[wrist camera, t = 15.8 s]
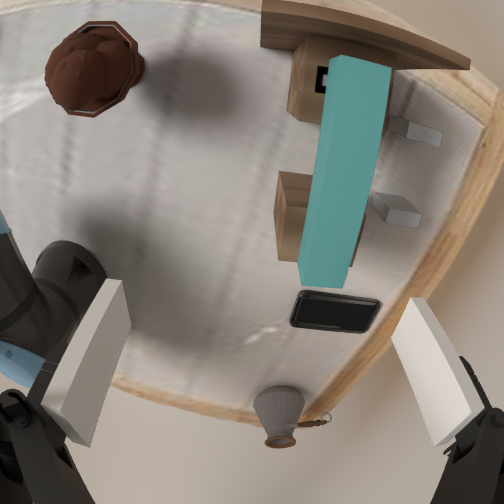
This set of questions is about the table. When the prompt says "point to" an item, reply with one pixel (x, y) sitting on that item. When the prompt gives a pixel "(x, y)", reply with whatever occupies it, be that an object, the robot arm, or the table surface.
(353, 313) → the phone
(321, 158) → the teal rail
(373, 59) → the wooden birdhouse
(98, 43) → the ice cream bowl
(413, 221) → the grey stand
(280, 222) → the block
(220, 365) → the table surface
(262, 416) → the coffee pot
